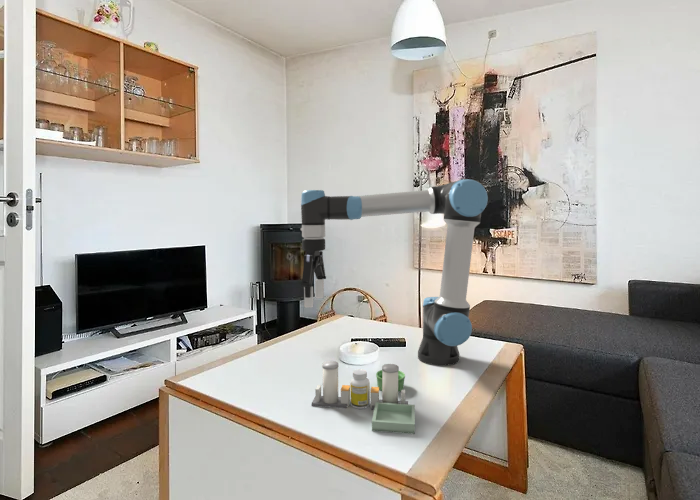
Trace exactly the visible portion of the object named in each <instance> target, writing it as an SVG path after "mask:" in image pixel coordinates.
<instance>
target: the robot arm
mask: <svg viewBox="0 0 700 500" xmlns="http://www.w3.org/2000/svg"><path fill="white" fill-rule="evenodd" d="M300 200H301V201H300V203H301V204H300V207H301V209H300V210H301V212H300V213H301V214H300V215H301V227H300V231H301V237H302V239H301V250H302V251H304V252H307V254H304V256H303V258H304V259H303V268H302V278H301V284H300V287H301V288H303V304H304V305H303V306H304V308H309V309H310V308H311V309H314V286H313V282H314V281H315V299H324V298H325V292H324V291H325V287H324V286H325V285H324V284H325V282H324V280H326V279H327V276H326V270H325V264H324V257H323V256H324V255H323V254H324V253H323V251H326V239H325V237H326V220H327V221H328V220H329V221H331V220H338V221H339V220H346V221H347V220H348V221H349V220H350V221H353V220H360V219H362V218H364V217H365V218H367V217H377V216H387V215H388V216H389V215H399V214H400V215H404V214H415V213H416V214H417V213H423V212H424V213H425V212H427V213H428V212H429V213H430V214H431V215H436V214H443V221H444V222H445V223H446V225H447V230H446V236H445V247H444V254H443V264H442V265H443V266H442V273H441V280H440V281H441V283H440V289H439V290H440V291H439V296H430V297H429V296H427V297H425V298H424V299H423V303H422V339H421V342H420V344H419V347H418V350H417V359H418V360H419V361H421V362H422V363H424V364H428V365H433V366H451V365H455V364H458V363H459V362H460V360H461V359H460V357H461V356H460V351H459V347H458V346H461V345H463V344H464V343H465V342H467V341H468V340H469V339H470V336H471V335H472V332H473V331H472V330H473V325H472V321H471V320H470V308H471V304H470V303H469V302H468V301H467V295H468V285H469V280H470V279H469V277H470V269H471V261H472V253H473V252H472V251H473V244H474V243H473V242H474V235H475V229H476V227H477V226H479V225H480V224H481V219H482V218H481V217H482V213H483V212H484V210H485V208H487V204H488V200H489V197H488V192H487V190H486V188H485V187H484V185H483V184H482V183H480V181H479V182H478V181H477V180H474V179H468V178H466V179H465V178H462V179H459V180H457V181H452V182H448V183H446V184H443V185H442V184H441V185H436V186H429V187H428V188H427V189H423V190H422V189H421V190H414V191H413V190H412V191H411V190H410V191H400V192H399V191H398V192H388V193H379V194H377V193H376V194H365V195H357V196H356V195H346V196H345V195H343V196H341V195H339V196H338V195H337V196H327V195H326V193H325V191H324V190H322V189H317V190H316V189H306V190H303V191H302V192H301V199H300ZM314 277H315V278H316V279H315V280H314Z"/></svg>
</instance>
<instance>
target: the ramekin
mask: <svg viewBox="0 0 700 500" xmlns="http://www.w3.org/2000/svg"><path fill="white" fill-rule="evenodd" d="M375 377H376V382H377V386H376V387H379V391H381V392H382V369H380V370H378V371H377V372H376V375H375ZM405 378H406V373H404V372H403V371H401V370H399V371H398V393H400V392H401V391H402V390H404V385H405Z"/></svg>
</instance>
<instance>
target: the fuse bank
mask: <svg viewBox="0 0 700 500" xmlns="http://www.w3.org/2000/svg"><path fill="white" fill-rule="evenodd" d="M321 367H322V385H321V384H317V385H316V388H315V389H314V390H315V393H314V394H315V396H314V398H313V399H312V402H311V406H312V407H326V408H338V409H339V408H341V409H347V407H349V406H350V405H351V385H350V384H349V385H348V384H347V385H346V384H342V385H341V388H340V396H339V362H338V361H335V360H326V361H324V362H322V364H321ZM381 370H382V391H381V393H382V395H381V397H382V399H380V390H379V387H378V386H371V388H370V405H369V406H370V409H371V411H374V408H375V403H376V402H380V403H395V404H409V401H408V400H406V389H402V390H401V391H400V392H401V393H400V397H401V398H400V400H399V392H398V371H400V369H399V365H397V364H394V363H385V364H382V366H381Z"/></svg>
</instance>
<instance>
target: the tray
mask: <svg viewBox="0 0 700 500" xmlns="http://www.w3.org/2000/svg"><path fill="white" fill-rule="evenodd" d="M415 407H416V405H415V404H410V403H408V404H395V403H380V402H376V403H375V408H374V410H373V413H372V417H371V418H372V420H371V432H383V433H396V434H407V435H408V434H409V435H410V434H411V435H415V433H416V432H415V429H416V427H415V426H416V421H415V419H416V413H415V412H416V408H415Z"/></svg>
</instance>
